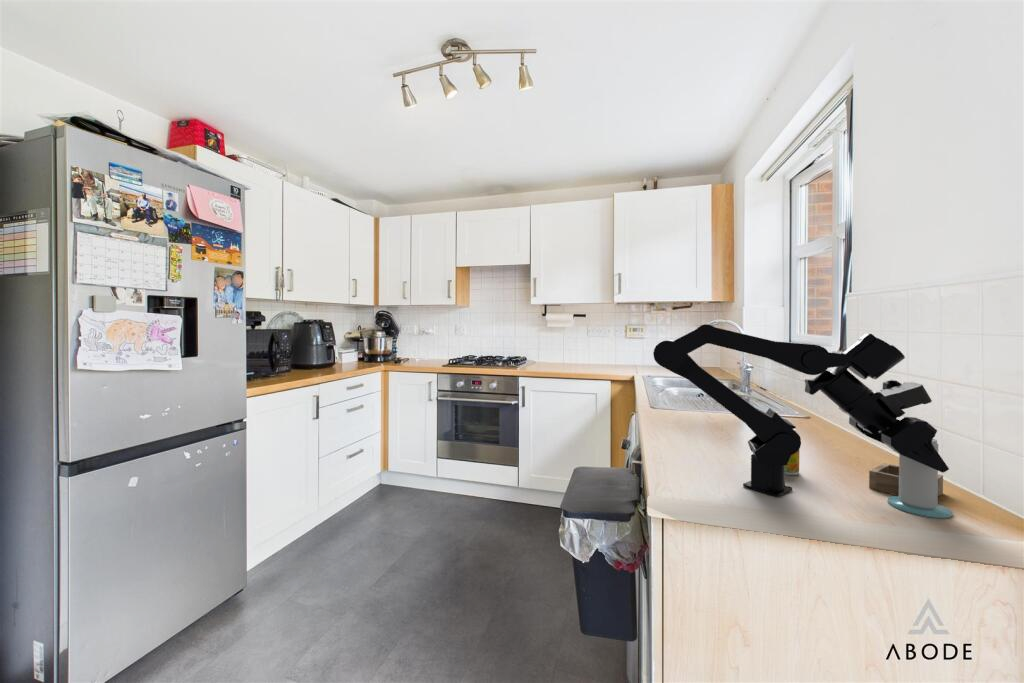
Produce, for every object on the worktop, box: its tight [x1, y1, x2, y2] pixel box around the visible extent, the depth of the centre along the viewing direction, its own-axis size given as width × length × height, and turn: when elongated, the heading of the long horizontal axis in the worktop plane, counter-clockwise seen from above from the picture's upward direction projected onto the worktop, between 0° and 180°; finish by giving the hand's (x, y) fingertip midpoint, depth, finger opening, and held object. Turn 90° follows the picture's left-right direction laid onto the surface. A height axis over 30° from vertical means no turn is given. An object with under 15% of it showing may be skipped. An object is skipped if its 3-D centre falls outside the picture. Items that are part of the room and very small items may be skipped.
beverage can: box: [898, 438, 939, 510], centre depth 70 cm, size 5×5×12 cm
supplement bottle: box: [785, 428, 800, 476], centre depth 89 cm, size 5×5×10 cm
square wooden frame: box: [868, 463, 944, 497], centre depth 78 cm, size 9×9×4 cm
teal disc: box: [887, 495, 953, 519], centre depth 70 cm, size 8×8×1 cm
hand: (929, 462), depth 70 cm, fingers open, 9 cm apart
